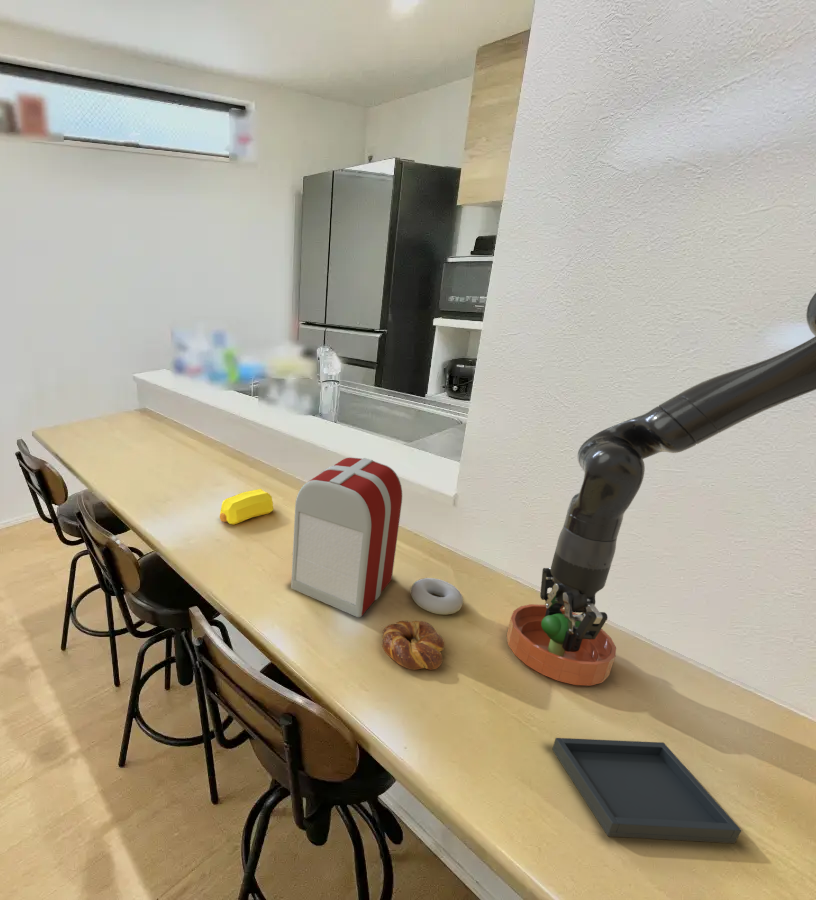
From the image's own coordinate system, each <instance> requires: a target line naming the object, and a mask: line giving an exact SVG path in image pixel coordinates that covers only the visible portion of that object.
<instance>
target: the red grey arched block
mask: <svg viewBox="0 0 816 900" xmlns="http://www.w3.org/2000/svg"><path fill="white" fill-rule="evenodd" d="M402 503H403V488H402V483H401V480H400V477H399V476H398V475H397V473H396V471H395V470H394V469H393V468H392V467H390V466H388V465H386V464H384V463H381V462H378V461H375V460H373V459H372V458H371V459H370V458H366V457H363V458H361V457H352V456H351V457H346V458H343V459H341V460H340V461H338V462H337V463H335V464H334V465H331V466H328V467H327V468H325V469H323V470H322V471H321V472H320V473H318V475H316V476H315V477H313V478H312V479H309V480H308V481H306V482H305V483H304V484H303V485H302V486H301V488H300V489H299V491H298V493H297V496H296V499H295V506H294V521H293V522H294V523H293V524H294V525H293V541H292V544H293V545H292V562H291V580H290V581H291V585H290V589H292V590H293V591H296V592H298V593H300V594H303V595H305V596H307V597H310V598H312V599H314V600H317V601H319V602H322V603H324V604H326V605H328V606H331V607H333V608H335V609H337V610H340V611H342V612H345V613H346V614H349V615H351V616H354V617H356V618H361V617H363V615H364V614H365V613H366V612H367V611H368V609H370V607H371V606H372V605H373V603H375V601H377V600H378V598H379V597H380V596H381V594H382V592H383V591H385V589H386V587H387V586H388V585H389V584H390V582H391V581H392V580H393V572H394V567H395V558H396V550H397V542H398V535H399V528H400V527H399V526H400V520H401V512H402V506H403V505H402Z"/></svg>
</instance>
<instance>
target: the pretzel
mask: <svg viewBox="0 0 816 900" xmlns="http://www.w3.org/2000/svg"><path fill="white" fill-rule="evenodd" d="M381 638H382V641H381V645H382V646H381V647H382V649H383V650H384V652H385V654H387V656H388V657H389V658H390V659H392V660H393V661H394V662H395V663H397V665H399V666H401V667H403V668H406V669H408V670H415V671H416V670H420V669H421V670H422V669H426V670H428V671H429V670H430V671H431V670H432V671H433V670H436V669H438V668H440V667H441V666H442V664H443V659H444V658H443V654H442V653H441V651H444V650H445V641H444V638H443V636H441V635H440V634H439V633H438V632H437V631H436V629H435V628H434V626H432V624H431V623H429V622H427V621H423V620H414V621H409V620H399V621H397V622H395V623H391V624H387V625H386V626H385V627H384V628H383V630H382V635H381Z"/></svg>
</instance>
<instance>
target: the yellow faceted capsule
mask: <svg viewBox="0 0 816 900" xmlns="http://www.w3.org/2000/svg"><path fill="white" fill-rule="evenodd" d="M273 511H274V501H273V496H272V495H271V494H270V493H269V492H267V491H265V490H263V489H262V488H258V489H252V490H247V491H243V492H239V493H238V494H235V495H233V496H230V497H227V498H225V499H224V500H223V501H222V503H221V507H220V512H219V519H220V521H221V523H222V522H224V523H228V524H229V525H233V526H234V525H237V524H240V523H242V522H244V521H247V520H249V519H251V518H255V517H259V516H264V515H268V514H270V513H272V512H273Z"/></svg>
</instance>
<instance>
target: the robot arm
mask: <svg viewBox="0 0 816 900" xmlns="http://www.w3.org/2000/svg"><path fill="white" fill-rule="evenodd" d="M805 318H806V323H807V326H808V329H809V330H810V332H811V333H812V335H814V337H812V338H810V339H808V340H806V341H805V342H803V343H801V344H798V345H797V346H794V347H793V348H791V349H788V350H786V351H784V352H782V353H779V354H777V355H774V356H772V357H769V358H767V359H764V360H762V361H759V362H758V361H757V362H755V363H753V364H750V365H747V366H744V367H741V368H738V369H734V370H732V371H728V372H725V373H722V374H719V375H716V376H714V377H711V378H709V379H705V380H704V381H701V382H699V383H697V384H695V385H693V386H691V387H689V388H686V389H685V390H683V391H682V392H679V393H678V394H677V395H675V396H672V397H671V398H669V399H667V400H666V401H664V402H662V403H660V404H659V405H658V406H655V407H654V408H652V409H650V410H649V411H648V412H645V413H644V414H641V415H637V416H636V417H632V418H629V419H627V420H625V421H622V422H620V423H617V424H614V425H612V426H609V427H607V428H605V429H603V430H601V431H599V432H597V433H595V434H594V435H592V436H591V437H589V438H587V439H586V440H585V441H584V442H583V443H582V445H581V446H580V447H579V449H578V451H577V461H578V464H579V467H580V468H581V469H582V471H583V472H584V475H583V480H582V485H581V487H580V490H579V492H578V493H576V494H575V495H574V496H572V498H571V500H570V502H569V505H568V507H567V511H566V515H565V519H564V522H563V526H562V528H561V530H560V533H559V534H558V535H559V536H558V537H557V543H556V546H555V550H554V553H553V557H552V562H551V565H550V567H543V568H542V573H541V582H540V584H541V585H540V593H539V596H540V599H541V600H543V601H545V603H544V605H545V607H546V608H547V610H546V614H545V617H546V616H548V615H553V614H558V613H561V614H562V611H561V610H560V609H564V616H565V618H566V619H567V620H568V631H567V632H566V635H565V639H564V642H563V646H562V648H563V649H564V650H565V651H567V652H576V651H578V650H579V649H580V645H581V642H582V639H595V638H596V636H597V635H598V633H599V632H600V630H601V628H602V629H603V627H604V625H605V624H606V622H607V620H608V614H607V612H605V611H600V610H598V608H597V606H596V594H597V593H598V592H599V591H601V590H602V589H604V587H605V586H606V583H607V579H608V576H609V572H610V570H611V566H612V563H613V560H614V556H615V553H616V549H617V540H618V537H619V533H620V529H621V527H622V524H623V520H624V515H625V513H626V511H627V510H628V509H629V507H630V506H631V504H632V502H633V501H634V499H635V497H636V495H637V494H638V492H639V490H640V488H641V486H642V484H643V481H644V478H645V469H646V468H645V467H646V466H645V461H644V459H646V458H649V457H653V456H654V455H656V454H659V453H670V454H677V453H682V452H685V451H687V450H689V449H691V448H693V447H695V446H696V445H699V444H701V443H703V442H704V441H706V440H708V439H710V438H713V437H714V436H716V435H718V434H720V433H722V432H724V431H727V430H728V429H730V428H731V427H733V426H736V425H737V424H739V423H741V422H744V421H745V420H747V419H750V418H752V417H754V416H757V415H758V414H760V413H763V412H765V411H767V410H770V409H772V408H774V407H777V406H778V405H781V404H783V403H786V402H788V401H791V400H794V399H796V398H799V397H802V396H804V395H806V394H808V393H812V392H814V391H816V292H815V293H814V294H813V295H812V297H811V298H810V300H809V302H808V305H807V308H806V313H805ZM548 589H551V590H550V591H549V592H548ZM572 612H573V613H576V614H578V615H572ZM579 613H580V614H579ZM576 621H580V625H579V627H575V622H576Z"/></svg>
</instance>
